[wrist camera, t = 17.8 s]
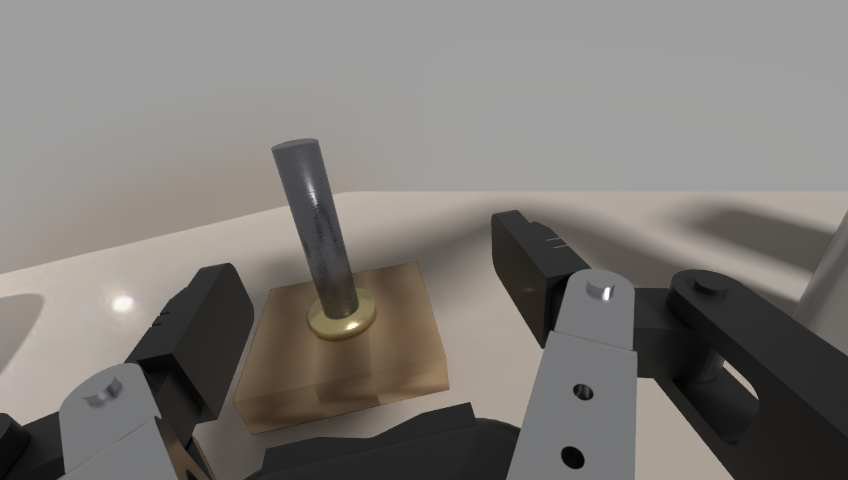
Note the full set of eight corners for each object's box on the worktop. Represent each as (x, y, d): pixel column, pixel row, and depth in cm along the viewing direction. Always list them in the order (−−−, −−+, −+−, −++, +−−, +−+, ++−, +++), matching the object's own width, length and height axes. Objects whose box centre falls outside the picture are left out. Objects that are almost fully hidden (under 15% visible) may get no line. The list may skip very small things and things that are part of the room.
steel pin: (381, 321, 37) (339, 129, 28) (386, 365, 32) (336, 148, 22) (324, 333, 37) (260, 141, 27) (320, 380, 32) (238, 163, 22)
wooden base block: (420, 290, 41) (416, 261, 40) (449, 389, 29) (445, 355, 27) (282, 317, 40) (270, 289, 38) (251, 434, 28) (232, 401, 26)
